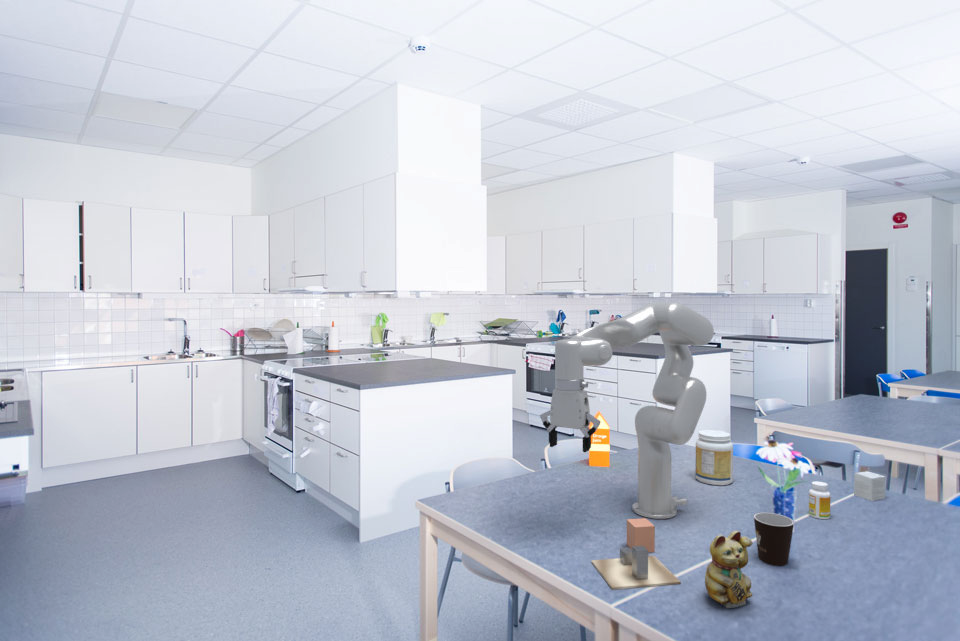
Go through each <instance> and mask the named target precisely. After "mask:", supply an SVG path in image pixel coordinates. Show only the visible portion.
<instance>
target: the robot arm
mask: <svg viewBox="0 0 960 641" xmlns="http://www.w3.org/2000/svg"><path fill="white" fill-rule="evenodd" d="M656 333H659V335H660V338H661V340H662V343H663V347H664V352H665V353H664V354H665V356H664V359H663V363H662V366H661V369H660V371H659V372H658V375H657V377H656V380H655V382H654V385H653V389H652V397H653V400H655V402H657V403H659V404H661V405H665V406H668V407H674V409H671V408H666V407H662V406H658V405H645V406H643V407H641V408H639V410H638V411H637V412H636V414H635V416H634V428H635V432H636V437H637V438H636V439H637V501H636V502H634V503H633V504H632V510H633V512H634V513H635V514H636V515H639V516H641V517H643V518H647V519H656V520H657V519H659V520H662V519H663V520H665V519H671V518H674V517H675V516H676V515H677V513H678V512H677V510H678V509H677V508H676V507H678V506H686V505H687V504H688V503H687V501H688V500H687V498H685V497H684V498H679V497H678V496H672V449H671V447H670V444H672V445H677V446H681V445H685V444H687V443H688V442H689V441H690V440H691V438H692V437H693V436H694V435H693V434H694V433H695V432H696V431H695V430H696V428H697V426H698V423H699V420H700V417H701V415H702V413H703V410H704V408H705V404H706V402H707V388H706V385H705V384H704V382H703V381H701V379H698V378H697V377H692V376H691V374H692V371H693V369H694V357H693V354H692V352H691V350H690V348H689V346H695V347H697V346H698V347H701V346H706V345H707V344H709V343H710V342H711V341H712V339H713V338H714V335H715V333H714V325H713V323H712V322H711V321H710V320H709V319H708V318H707V317H705V316H704V315H702V314H701V313H699V312H697V311H695V310H693V309H691V308H690V307H688V306H686V305H684V304H681V303H679V302H662V301H661V302H651V303H647V304H645V305H643V306H642V307H640V308H638V309H636V310H634V311H632V312H629V313H628V314H626V315H624V316H622V317H620V318H618V319H614V320H611V321H608V322H605V323H602V324H598V325H595V326H592V327H589V328H587V329H584V330H582V331H581V332H579V333H577V334H575V335H573V336H572V337H571V338H568V339H567V338H566V339H565V338H564V339H558V340H557V341H556V342H555V345H554V362H555V363H554V364H555V365H554V370H555V372H554V374H555V378H554V384H555V385H554V389H553V390H552V395H551V400H550V409H549V410H547V411H546V412H543V413H541V414H540V415H539V416H540V417H539V418H540V420H541V421H542V425H543V426H544V428H545V429H546V432H548V443H549V447H550V448H554V447H556V446H557V445H558V430H556V429H557V428H565V429H573V430H580V431H581V433H582V434H583V437H582V452H583V453H587V452H589V450H590V448H591V435H593V434H594V433H595V432H596V431H597V429H598V427H599V425H600V423H601V421H600V420H598V419H597V418H595V415H594V416H593V415H592V414H591V412H590V410H591V409H590V401H589V396H588V392H587V390H585V388H588V387H589V382H586V381H585V379H584V366H595V367H600V366H603V365H606V364H608V363H609V361H611V359H612V357H613V353H614V352H613V348H614V349H615V348H625V347H631V346H634V345H636V344H639V343H640V342H642V341H644V340H645V339H647V338H649V337H650V336H652V335H654V334H656ZM548 417H549V418H548ZM548 419H549V420H550V421H549V420H548ZM590 422H592V423H593V426H592V428H591V429H590V428H589V425H590Z"/></svg>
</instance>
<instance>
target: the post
mask: <svg viewBox="0 0 960 641" xmlns="http://www.w3.org/2000/svg"><path fill="white" fill-rule="evenodd" d="M648 556H649V552H648V550H647V549H646V548H645V547H644V546H632V575H633V576H634V577H635V578H636V580H645V579H648Z"/></svg>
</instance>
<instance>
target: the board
mask: <svg viewBox="0 0 960 641" xmlns="http://www.w3.org/2000/svg"><path fill="white" fill-rule="evenodd" d="M591 564H592V565H593V567H594V569H596V570H597V571H598V573H599V574H600V576H601V577H602V579H603V580H604V581H605V582H606V584H607V585H608V586H609V587H610V589H611V590H623V589H624V590H626V589H627V590H628V589H637V588H639V589H640V588H647V587H648V588H649V587H659V586H671V585H673V586H674V585H681V584H682V582H681V580H680V579H679V578H678V577H677V576H675V574H674V573H672V572H671V571H670V570H669V569H668V568H667V567H666V566H665V565H664V563H662V562H661V560H659V559H658V558H657V557H656V556H655V555H648V579H645V580H636V578H635V577H634V576H633V575H632V565H626V566H624V565H623V564H622V562H621V561H620V557H619V558H616V557H615V558H606V559H603V558H602V559H594V560H593V559H592V560H591Z"/></svg>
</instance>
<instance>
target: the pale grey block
mask: <svg viewBox="0 0 960 641" xmlns="http://www.w3.org/2000/svg"><path fill="white" fill-rule="evenodd" d="M853 475H854V478H853V480H854V481H853V496H856V497H859V498H863V499H864V500H868V501H871V502H873V501H877V500H883V499H886V476H885V475H881V474H879V473H874V472H871V471H868V470H866V471H861V472H860V471H858V472H854V474H853Z"/></svg>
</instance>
